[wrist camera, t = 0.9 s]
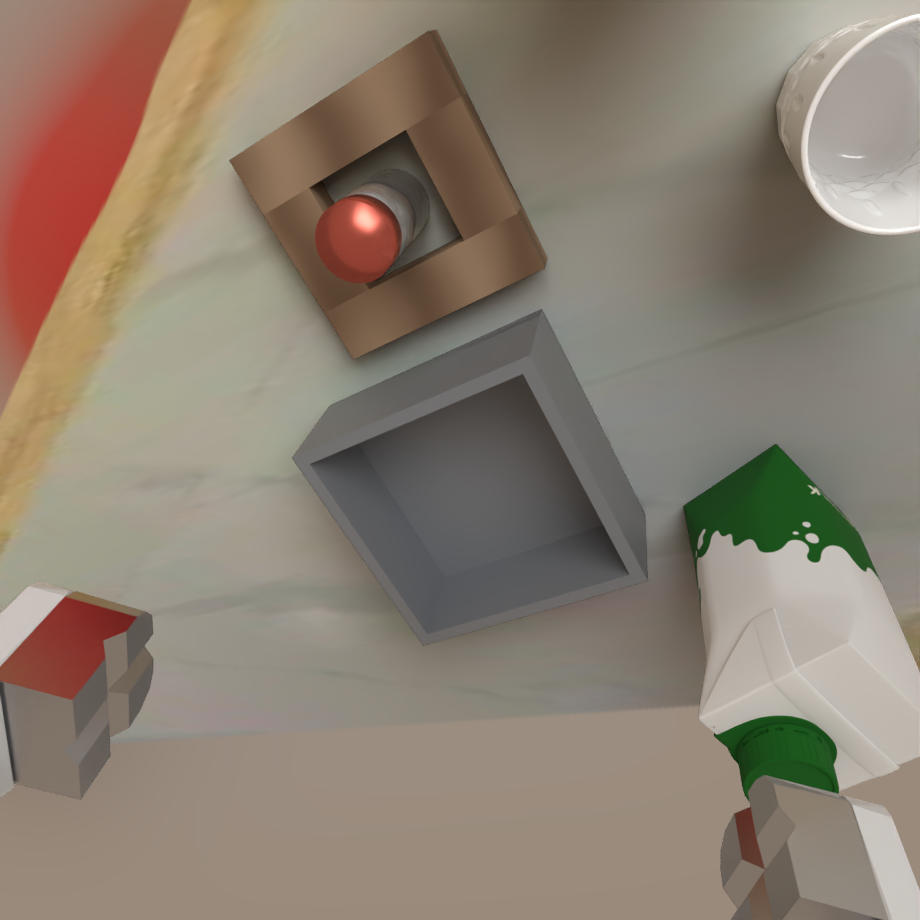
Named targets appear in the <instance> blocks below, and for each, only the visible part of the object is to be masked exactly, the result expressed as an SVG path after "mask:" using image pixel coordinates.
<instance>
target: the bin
mask: <svg viewBox="0 0 920 920" xmlns="http://www.w3.org/2000/svg"><path fill="white" fill-rule="evenodd" d="M292 459H293V460H294V462H295V463H296V465H297V466H298V468H299V469H300V470H301V472H302V473H303V475H304V476H305V478H306V479H307V480H308V482H309V483H310V485H311V486H312V488H313V489H314V491H315V492H316V493H317V495H318V496H319V498H320V499H321V501H322V502H323V503H324V505H325V506H326V508H327V509H328V511H329V512H330V513H331V515H332V516H333V518H334V519H335V521H336V522H337V523H338V525H339V526H340V528H341V529H342V531H343V532H344V533H345V535H346V536H347V538H348V539H349V541H350V542H351V543H352V545H353V546H354V548H355V549H356V551H357V552H358V553H359V555H360V556H361V558H362V559H363V561H364V562H365V563H366V565H367V566H368V568H369V569H370V571H371V572H372V573H373V575H374V576H375V578H376V579H377V581H378V582H379V583H380V585H381V586H382V588H383V589H384V591H385V592H386V593H387V595H388V596H389V598H390V599H391V601H392V602H393V603H394V605H395V606H396V608H397V609H398V611H399V612H400V613H401V615H402V616H403V618H404V619H405V621H406V622H407V623H408V625H409V626H410V628H411V629H412V631H413V632H414V633H415V635H416V636H417V638H418V639H419V641H420V642H421V643H422V645H423V646H424V645H428V644H431V643H435V642H438V641H442V640H445V639H449V638H452V637H456V636H459V635H462V634H466V633H469V632H473V631H476V630H480V629H483V628H487V627H490V626H494V625H497V624H501V623H504V622H508V621H511V620H514V619H518V618H521V617H525V616H528V615H532V614H535V613H539V612H542V611H546V610H549V609H553V608H556V607H560V606H563V605H566V604H570V603H573V602H577V601H580V600H584V599H587V598H591V597H594V596H598V595H601V594H605V593H608V592H612V591H615V590H618V589H622V588H625V587H629V586H632V585H636V584H639V583H643V582H646V581H648V571H647V545H646V520H645V513H644V511H643V509H642V507H641V505H640V503H639V501H638V499H637V497H636V495H635V493H634V491H633V489H632V487H631V485H630V483H629V481H628V479H627V477H626V475H625V473H624V471H623V469H622V467H621V465H620V463H619V461H618V459H617V457H616V455H615V453H614V451H613V449H612V447H611V445H610V443H609V441H608V439H607V437H606V435H605V433H604V431H603V429H602V427H601V425H600V423H599V421H598V419H597V417H596V415H595V413H594V411H593V409H592V407H591V405H590V403H589V401H588V399H587V397H586V395H585V393H584V391H583V389H582V388H581V386H580V384H579V382H578V380H577V378H576V376H575V374H574V372H573V370H572V368H571V366H570V364H569V362H568V360H567V358H566V356H565V354H564V352H563V350H562V348H561V346H560V344H559V342H558V340H557V338H556V336H555V334H554V332H553V330H552V328H551V326H550V324H549V322H548V320H547V318H546V316H545V314H544V312H543V310H542V309H541V310H539V311H537V312H535V313H532V314H530V315H528V316H526V317H524V318H521V319H519V320H517V321H515V322H513V323H510V324H508V325H506V326H504V327H502V328H499V329H497V330H495V331H493V332H491V333H488V334H486V335H484V336H482V337H480V338H477V339H475V340H473V341H471V342H469V343H466V344H464V345H462V346H460V347H458V348H455V349H453V350H451V351H449V352H447V353H444V354H442V355H440V356H438V357H436V358H433V359H431V360H429V361H427V362H425V363H422V364H420V365H418V366H416V367H414V368H411V369H409V370H407V371H405V372H403V373H400V374H398V375H396V376H394V377H392V378H389V379H387V380H385V381H383V382H381V383H378V384H376V385H374V386H372V387H370V388H367V389H365V390H363V391H361V392H359V393H356V394H354V395H352V396H350V397H348V398H345V399H343V400H341V401H339V402H337V403H334V404H332V405H330V406H329V407H328V409H327V410H326V412H325V413H324V414H323V416H322V417H321V418H320V420H319V421H318V423H317V424H316V425H315V427H314V428H313V429H312V431H311V432H310V434H309V435H308V436H307V438H306V439H305V440H304V442H303V443H302V445H301V446H300V447H299V449H298V450H297V451H296V453H295V454H294V456H293V457H292Z"/></svg>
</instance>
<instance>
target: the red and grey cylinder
mask: <svg viewBox="0 0 920 920" xmlns="http://www.w3.org/2000/svg"><path fill="white" fill-rule="evenodd" d="M429 213H430V203H429V198H428V195H427V193H426V190H425V189H424V187H423V185H422V184H421V183H420V182H419V181H418V180H417V179H416V178H415V177H414V176H413V175H411V174H409V173H407V172H405V171H402V170H396V169H389V170H385V171H381V172H379V173H377V174H376V175H375V176H373V177H372V178H370V179H369V180H367V181H366V182H365V183H363V184H362V185H360V186H359V187H358V188H356V189H355V190H353V191H352V192H350V193H349V194H348V195H346V196H345V197H343V198H342V199H341V200H339V201H338V202H336V203H335V204H333V205H332V206H331V207H329V208H328V209H327V210H326V211H325V212H324V213H323V214H322V215H321V217H320V219H319V221H318V223H317V226H316V231H315V243H316V248H317V252H318V254H319V257H320V259H321V260H322V262H323V264H324V265H325V266H326V267H327V269H328V270H329V271H330V272H332V273H333V274H334V275H335V276H337V277H338V278H340V279H342V280H345V281H347V282H351V283H368V282H371V281H374V280H376V279H378V278H379V277H381V276H382V275H383V274H384V273H385V272H386V271H387V270H388V268H389V267H390V266H391V265H392V264H393V263H394V262H395V260H396V259H397V258H398V257H399V256H400V255H401V254H402V252H403V251H404V250H405V249H406V248H407V247H408V246H409V244H410V243H411V242H412V241H413V240H414V239H415V238H416V237H417V235H418V234H419V233H420V232H421V231H422V230H423V228H424V227H425V225H426V223H427V221H428V218H429Z"/></svg>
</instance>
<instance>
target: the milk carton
mask: <svg viewBox="0 0 920 920" xmlns="http://www.w3.org/2000/svg"><path fill="white" fill-rule="evenodd" d="M684 512H685V517H686V522H687V528H688V533H689V538H690V544H691V549H692V554H693V559H694V565H695V570H696V578H697V586H698V594H699V602H700V611H701V619H702V627H703V635H704V644H705V652H706V668H705V674H704V681H703V687H702V693H701V699H700V706H699V712H698V719H699V720H700V721H701V722H702V723H703V724H704V725H705V726H706V727H708V728H709V729H710V730H712V731H713V732H714V736H715V737H716V738H717V739H718V740H719V741H720V742H721V743H723V744H724V745H725V746H727V748H728V750H729V751H730V753H731V756H732V757H733V759H734V760H735V761H736V762H737V763H738V764H739V768H740V775H741V781H742V787H743V791H744V794H745V796H746V798H747V799H748V801H749V796H748V791H749V790H750V788H751V786H752V785H753V783H754V782H755V780H756V779H758V778H760V777H762V776H763V775H766V776H770V777H774V778H778V779H782V780H786V781H790V782H794V783H798V784H802V785H806V786H809V787H813V788H817V789H821V790H825V791H829V792H833V793H837V794H838V793H839V791H841V790H844V789H846V788H849V787H851V786H854V785H856V784H859V783H862V782H864V781H867V780H869V779H872V778H874V777H876V778H877V777H881V776H883V775H886V774H889V773H891V772H894V771H896V770H898V769H899V765H900V764H903V763H905V762H907V761H910V760H913V759H915V758H917V757H920V671H919V669H918V667H917V665H916V662H915V660H914V658H913V655H912V653H911V651H910V648H909V646H908V644H907V641H906V639H905V636H904V634H903V632H902V630H901V627H900V625H899V623H898V621H897V618H896V616H895V614H894V611H893V609H892V607H891V605H890V602H889V600H888V598H887V596H886V593H885V591H884V589H883V586H882V584H881V582H880V580H879V577H878V575H877V573H876V571H875V568H874V566H873V564H872V561H871V559H870V557H869V555H868V552H867V550H866V548H865V546H864V543H863V541H862V539H861V537H860V535H859V533H858V531H857V530H856V528H855V527H854V526H853V524H852V523H851V522H850V521H849V520H848V519H847V517H846V516H845V515H844V514H843V513H842V512H841V511H840V510H839V509H838V508H837V507H836V506H835V505H834V503H833V502H832V501H831V500H830V499H829V498H828V497H827V496H826V495H825V494H824V493H823V492H822V491H821V490H820V489H819V488H818V487H817V486H816V485H815V484H814V483H813V482H812V481H811V480H810V479H809V477H808V476H807V475H806V474H805V473H804V472H803V471H802V470H801V469H800V468H799V467H798V466H797V465H796V464H795V463H794V462H793V461H792V460H791V459H790V458H789V457H788V456H787V455H786V454H785V453H784V451H783V450H782V449H781V448H780V447H779V446H778V445H777V444H775V445H774V446H772V447H771V448H769V449H768V450H766V451H765V452H763V453H762V454H760V455H759V456H757V457H756V458H754V459H753V460H751V461H750V462H748V463H747V464H745V465H744V466H742V467H741V468H739V469H738V470H736V471H735V472H734V473H732V474H731V475H729V476H728V477H726V478H725V479H723V480H722V481H720V482H719V483H717V484H716V485H714V486H713V487H711V488H710V489H708V490H707V491H705V492H704V493H702V494H701V495H699V496H698V497H696V498H695V499H693V500H692V501H690V502H689V503H687V504H686V505H684ZM749 802H750V801H749Z"/></svg>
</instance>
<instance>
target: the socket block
mask: <svg viewBox="0 0 920 920" xmlns="http://www.w3.org/2000/svg"><path fill="white" fill-rule="evenodd" d="M405 130H406V131H407V133H408V135H409V137H410V139H411V141H412V143H413V145H414V147H415V148H416V150H417V152H418V154H419V156H420V158H421V160H422V162H423V164H424V166H425V167H426V169H427V171H428V173H429V175H430V177H431V179H432V181H433V183H434V185H435V186H436V188H437V190H438V192H439V194H440V196H441V198H442V200H443V202H444V204H445V205H446V207H447V209H448V211H449V213H450V215H451V217H452V219H453V221H454V223H455V224H456V226H457V228H458V230H459V232H460V234H461V237H459V238H457V239H455V240H453V241H451V242H449V243H447V244H445V245H444V246H442V247H440V248H438V249H436V250H434V251H432V252H430V253H428V254H426V255H424V256H422V257H420V258H418V259H417V260H415V261H413V262H411V263H409V264H407V265H405V266H403V267H401V268H399V269H397V270H395V271H393V272H391V273H389V274H388V275H386V276H384V277H382V278H380V279H376V280H374V281H371V282H368V283H351V282H347V281H345V280H342V279H340V278H338V277H337V276H335V275H334V274H333V273H332V272H330V271H329V270H328V269H327V267H326V266H325V265H324V264H323V262H322V260H321V259H320V257H319V254H318V252H317V248H316V243H315V231H316V226H317V223H318V221H319V219H320V217H321V215H322V214H323V213H324V212H325V211H326V210H327V209H328V208H329V207H331V206H332V205H333V204H334V202H333V200H332V199H331V197H330V195H329V193H328V192H327V190H326V188H325V187H324V185H323V183H322V181H321V180H323V179H324V178H326V177H328V176H329V175H331V174H333V173H334V172H336V171H338V170H339V169H341V168H343V167H344V166H346V165H348V164H349V163H351V162H353V161H354V160H356V159H358V158H359V157H361V156H363V155H364V154H366V153H368V152H369V151H371V150H373V149H374V148H376V147H378V146H379V145H381V144H383V143H385V142H386V141H388V140H390V139H391V138H393V137H395V136H396V135H398V134H400V133H401V132H403V131H405ZM229 161H230V163H231V164H232V166H233V167H234V169H235V171H236V172H237V174H238V175H239V177H240V179H241V180H242V182H243V183H244V185H245V187H246V188H247V190H248V191H249V193H250V195H251V196H252V198H253V199H254V201H255V203H256V204H257V206H258V207H259V209H260V211H261V212H262V214H263V215H264V217H265V219H266V220H267V222H268V223H269V225H270V227H271V228H272V230H273V231H274V233H275V235H276V236H277V238H278V239H279V241H280V243H281V244H282V246H283V247H284V249H285V251H286V252H287V254H288V255H289V257H290V259H291V260H292V262H293V263H294V265H295V267H296V268H297V270H298V271H299V273H300V275H301V276H302V278H303V279H304V281H305V283H306V284H307V286H308V287H309V289H310V291H311V292H312V294H313V295H314V297H315V299H316V300H317V302H318V303H319V305H320V307H321V308H322V310H323V311H324V313H325V315H326V316H327V318H328V319H329V321H330V323H331V324H332V326H333V327H334V329H335V331H336V332H337V334H338V335H339V337H340V339H341V340H342V342H343V343H344V345H345V347H346V348H347V350H348V351H349V353H350V355H351V356H352V358H353V359H355V358H357V357H360V356H362V355H364V354H366V353H368V352H370V351H372V350H374V349H376V348H378V347H380V346H383V345H385V344H387V343H389V342H391V341H393V340H395V339H397V338H399V337H401V336H404V335H406V334H408V333H410V332H412V331H414V330H416V329H418V328H420V327H422V326H425V325H427V324H429V323H431V322H433V321H435V320H437V319H439V318H441V317H443V316H446V315H448V314H450V313H452V312H454V311H456V310H458V309H460V308H462V307H464V306H466V305H469V304H471V303H473V302H475V301H477V300H479V299H481V298H483V297H485V296H487V295H490V294H492V293H494V292H496V291H498V290H500V289H502V288H504V287H506V286H508V285H511V284H513V283H515V282H517V281H519V280H521V279H523V278H525V277H527V276H529V275H532V274H534V273H536V272H538V271H540V270H542V269H544V268H545V265H546V261H547V256H546V254H545V252H544V250H543V248H542V246H541V244H540V242H539V240H538V238H537V236H536V234H535V231H534V229H533V227H532V225H531V223H530V221H529V219H528V217H527V215H526V213H525V211H524V209H523V207H522V205H521V203H520V201H519V199H518V196H517V194H516V192H515V190H514V188H513V186H512V184H511V182H510V180H509V178H508V176H507V174H506V172H505V170H504V168H503V166H502V164H501V161H500V159H499V157H498V155H497V153H496V151H495V149H494V147H493V145H492V143H491V141H490V139H489V137H488V135H487V133H486V131H485V129H484V126H483V124H482V122H481V120H480V118H479V116H478V114H477V112H476V110H475V108H474V106H473V104H472V102H471V100H470V98H469V96H468V94H467V92H466V89H465V87H464V85H463V83H462V81H461V79H460V77H459V75H458V73H457V71H456V69H455V67H454V65H453V63H452V61H451V59H450V57H449V54H448V52H447V50H446V48H445V46H444V44H443V42H442V40H441V38H440V36H439V34H438V32H437V30H433V31H428V32H426V33H425V34H423V35H422V36H420V37H419V38H417V39H415V40H414V41H412V42H411V43H409V44H408V45H406V46H405V47H403V48H402V49H400V50H398V51H397V52H395V53H394V54H392V55H391V56H389V57H388V58H386V59H385V60H383V61H382V62H380V63H378V64H377V65H375V66H374V67H372V68H371V69H369V70H368V71H366V72H365V73H363V74H361V75H360V76H358V77H357V78H355V79H354V80H352V81H351V82H349V83H348V84H346V85H345V86H343V87H341V88H340V89H338V90H337V91H335V92H334V93H332V94H331V95H329V96H328V97H326V98H324V99H323V100H321V101H320V102H318V103H317V104H315V105H314V106H312V107H311V108H309V109H308V110H306V111H304V112H303V113H301V114H300V115H298V116H297V117H295V118H294V119H292V120H291V121H289V122H287V123H286V124H284V125H283V126H281V127H280V128H278V129H277V130H275V131H274V132H272V133H271V134H269V135H267V136H266V137H264V138H263V139H261V140H260V141H258V142H257V143H255V144H254V145H252V146H250V147H249V148H247V149H246V150H244V151H243V152H241V153H240V154H238V155H237V156H235V157H234V158H232V159H230V160H229Z"/></svg>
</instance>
